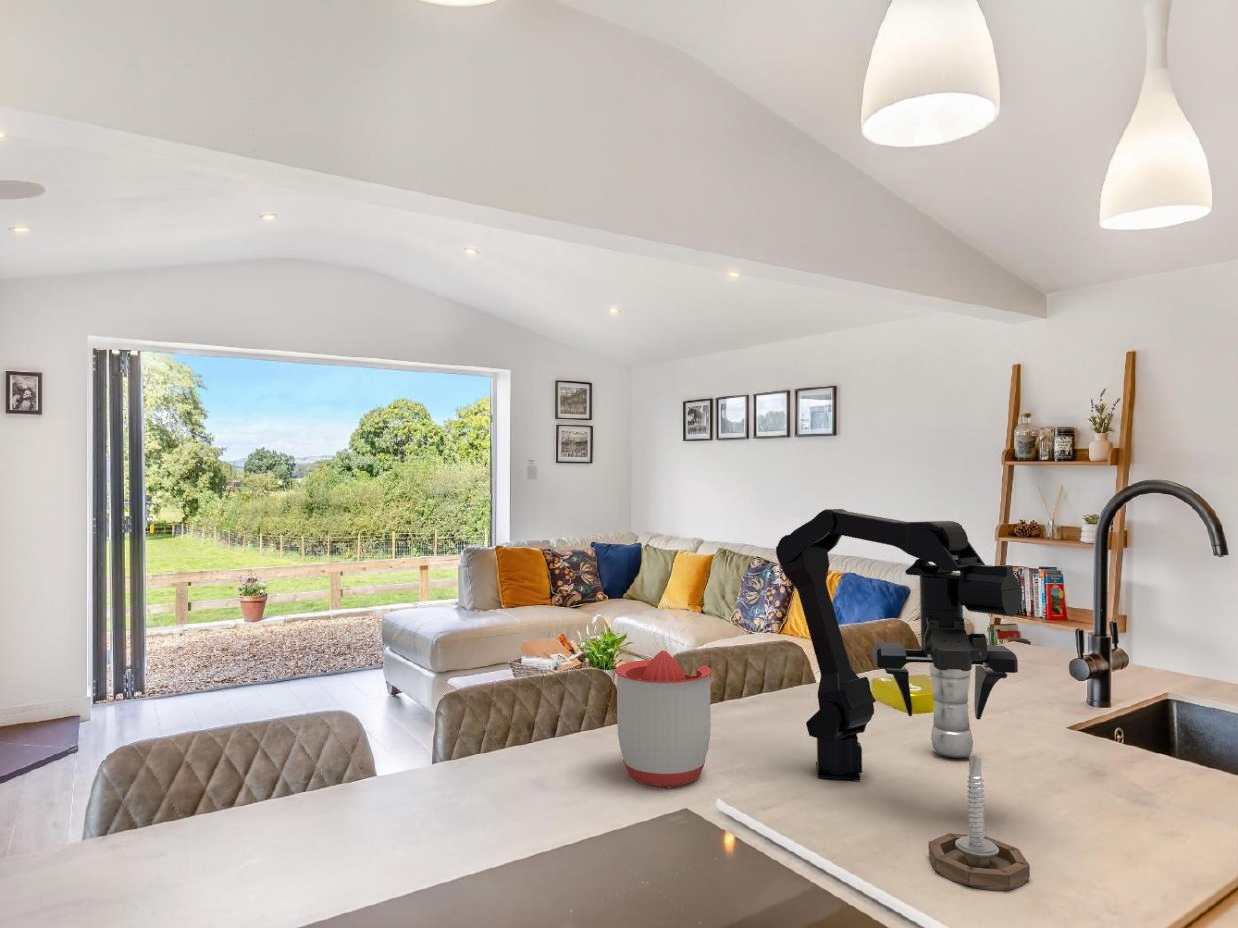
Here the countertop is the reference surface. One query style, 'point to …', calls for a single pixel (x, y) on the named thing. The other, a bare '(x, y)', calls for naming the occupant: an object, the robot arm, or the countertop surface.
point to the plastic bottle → (951, 712)
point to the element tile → (891, 696)
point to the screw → (976, 822)
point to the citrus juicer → (663, 720)
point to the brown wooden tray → (1001, 874)
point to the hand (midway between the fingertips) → (943, 717)
